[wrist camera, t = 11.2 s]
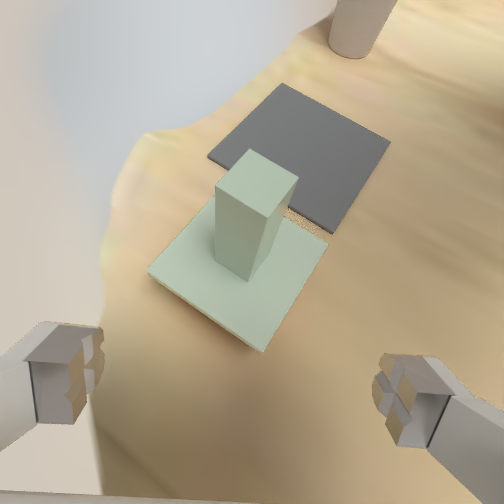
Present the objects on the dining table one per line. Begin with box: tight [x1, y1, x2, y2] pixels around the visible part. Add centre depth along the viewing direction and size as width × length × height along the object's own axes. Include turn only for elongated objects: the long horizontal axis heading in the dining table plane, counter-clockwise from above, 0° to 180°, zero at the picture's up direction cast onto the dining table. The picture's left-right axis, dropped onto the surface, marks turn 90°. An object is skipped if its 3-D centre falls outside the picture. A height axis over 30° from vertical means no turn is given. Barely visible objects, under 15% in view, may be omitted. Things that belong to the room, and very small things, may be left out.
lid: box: [146, 149, 329, 354], centre depth 19 cm, size 10×10×10 cm
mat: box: [208, 83, 391, 234], centre depth 36 cm, size 16×16×1 cm
